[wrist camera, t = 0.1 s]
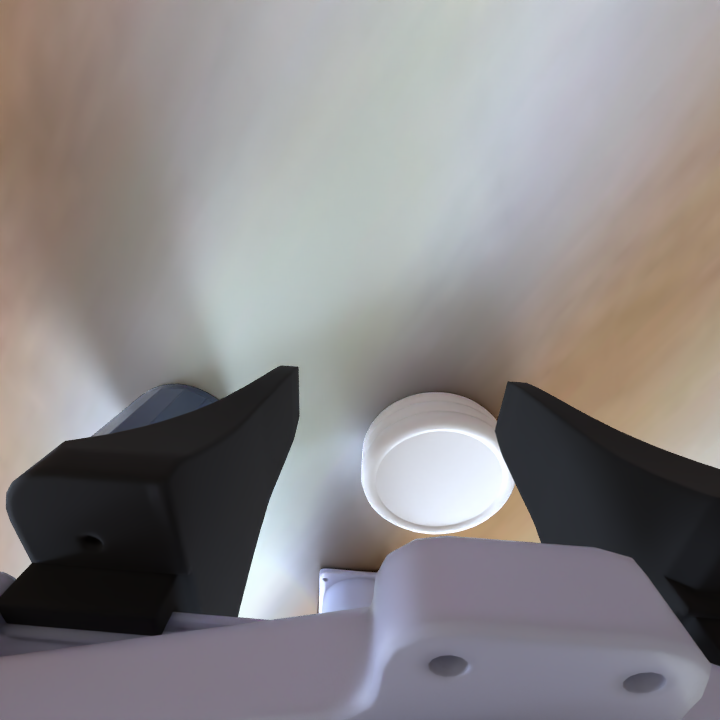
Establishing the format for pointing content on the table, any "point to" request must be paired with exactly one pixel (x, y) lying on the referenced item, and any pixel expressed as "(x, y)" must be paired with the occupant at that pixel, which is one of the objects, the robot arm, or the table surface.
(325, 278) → the table surface
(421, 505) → the white round dish
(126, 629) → the robot arm
